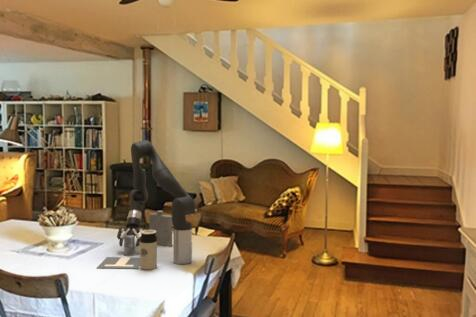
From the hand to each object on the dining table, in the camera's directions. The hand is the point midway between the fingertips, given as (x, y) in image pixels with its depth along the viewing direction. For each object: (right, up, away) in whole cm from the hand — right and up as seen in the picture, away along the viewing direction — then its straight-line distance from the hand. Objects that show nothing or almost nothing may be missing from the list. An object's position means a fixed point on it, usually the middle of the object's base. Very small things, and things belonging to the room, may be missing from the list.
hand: (128, 245), depth 230 cm
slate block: (0, -5, +1) cm, 5 cm away
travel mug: (+15, -7, -19) cm, 25 cm away
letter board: (0, -6, -14) cm, 15 cm away
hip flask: (+13, -4, +21) cm, 25 cm away
